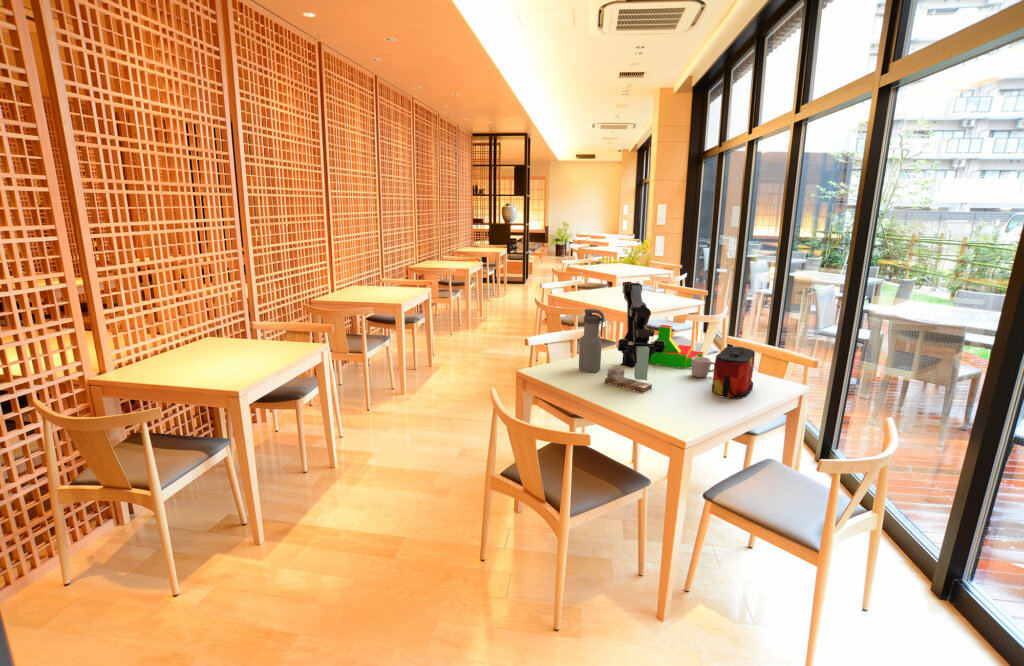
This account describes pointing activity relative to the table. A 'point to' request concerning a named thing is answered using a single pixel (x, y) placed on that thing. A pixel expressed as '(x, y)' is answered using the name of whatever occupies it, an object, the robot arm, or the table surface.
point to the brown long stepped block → (625, 380)
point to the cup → (701, 366)
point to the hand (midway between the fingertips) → (642, 363)
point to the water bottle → (591, 342)
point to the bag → (733, 372)
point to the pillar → (641, 362)
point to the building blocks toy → (673, 351)
